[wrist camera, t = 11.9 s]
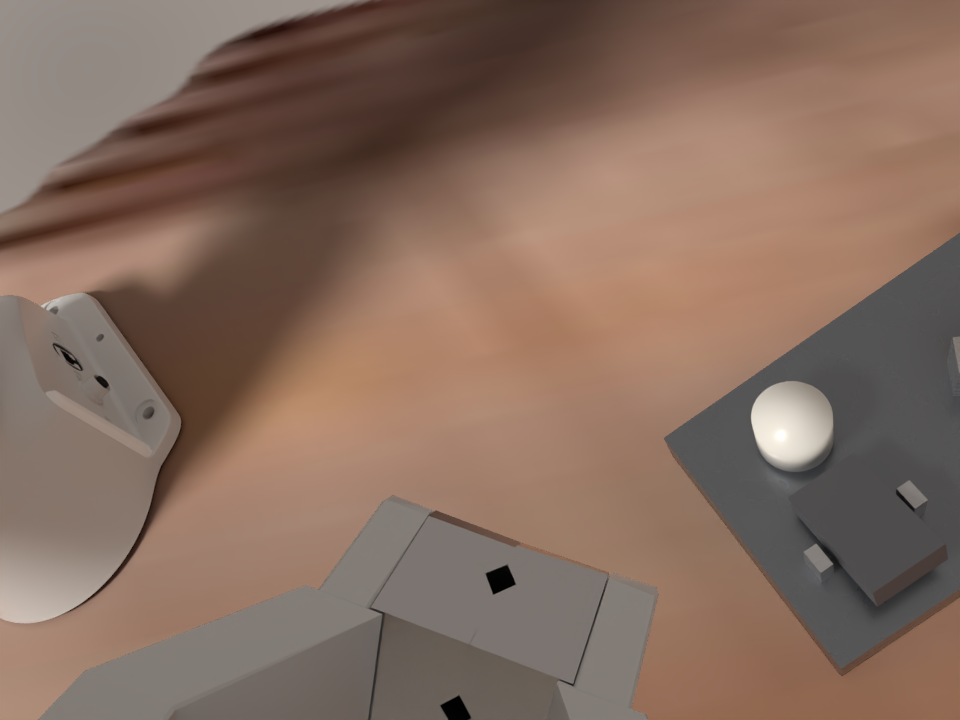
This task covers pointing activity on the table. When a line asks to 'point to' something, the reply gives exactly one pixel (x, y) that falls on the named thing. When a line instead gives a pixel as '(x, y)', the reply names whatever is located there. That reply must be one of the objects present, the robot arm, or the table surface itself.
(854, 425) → the panel
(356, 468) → the table surface
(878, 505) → the block
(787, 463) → the button
